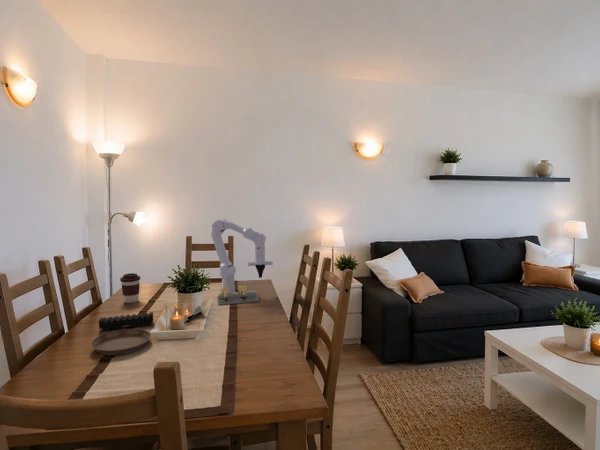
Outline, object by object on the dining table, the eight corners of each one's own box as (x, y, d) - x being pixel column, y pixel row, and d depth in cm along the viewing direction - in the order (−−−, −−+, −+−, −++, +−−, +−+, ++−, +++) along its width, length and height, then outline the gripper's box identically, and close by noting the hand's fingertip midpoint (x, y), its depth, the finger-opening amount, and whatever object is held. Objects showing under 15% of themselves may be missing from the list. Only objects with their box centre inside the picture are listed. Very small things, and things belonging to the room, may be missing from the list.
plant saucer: (159, 335, 147) (158, 327, 147) (138, 358, 127) (137, 349, 126) (108, 336, 146) (108, 328, 146) (79, 359, 126) (79, 350, 126)
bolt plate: (217, 297, 200) (217, 296, 200) (255, 294, 206) (255, 293, 206) (218, 305, 187) (218, 303, 187) (259, 301, 193) (259, 299, 193)
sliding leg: (238, 295, 201) (238, 285, 201) (245, 294, 202) (245, 285, 202) (240, 298, 194) (239, 289, 193) (247, 298, 195) (247, 288, 194)
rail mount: (153, 321, 164) (153, 311, 164) (153, 326, 158) (152, 315, 157) (101, 327, 157) (101, 316, 156) (98, 332, 150) (98, 321, 150)
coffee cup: (144, 298, 199) (143, 272, 198) (134, 304, 190) (133, 276, 188) (128, 298, 200) (126, 272, 199) (117, 303, 191) (116, 276, 189)
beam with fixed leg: (218, 297, 198) (218, 287, 198) (255, 294, 204) (255, 285, 203) (218, 301, 191) (218, 291, 190) (257, 298, 196) (257, 288, 196)
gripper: (248, 256, 200) (248, 279, 201) (273, 255, 204) (273, 278, 205) (246, 254, 207) (247, 277, 208) (271, 253, 211) (271, 275, 212)
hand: (260, 277), depth 207 cm, fingers closed
